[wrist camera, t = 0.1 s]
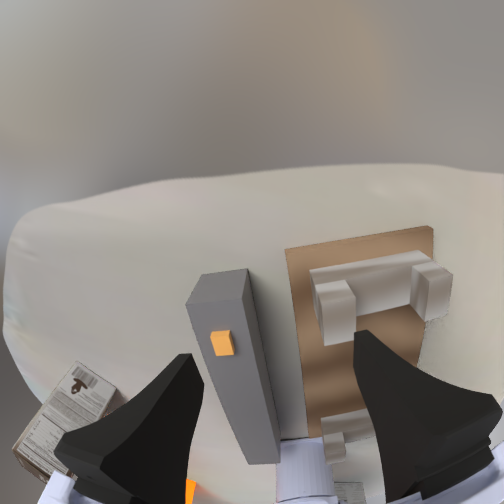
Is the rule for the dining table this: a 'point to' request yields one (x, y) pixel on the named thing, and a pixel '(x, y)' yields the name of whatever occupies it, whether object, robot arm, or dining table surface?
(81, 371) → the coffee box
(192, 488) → the orange juice
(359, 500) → the light bulb box
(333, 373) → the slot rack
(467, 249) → the dining table surface
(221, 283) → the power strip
